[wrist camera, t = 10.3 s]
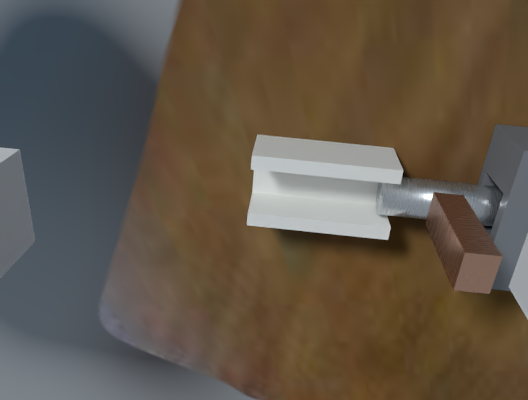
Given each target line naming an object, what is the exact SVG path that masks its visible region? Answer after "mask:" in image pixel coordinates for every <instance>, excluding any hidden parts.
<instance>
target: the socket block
mask: <svg viewBox="0 0 528 400" xmlns="http://www.w3.org/2000/svg"><path fill="white" fill-rule="evenodd" d="M478 184H480V185H490V186H498V187H499V189H500V190H501V191H502V192H503V197H502V200H501V203H500V206H499V209H498V212H497V215H496V218H495V221H494V224H493V226H485V225H483V226H484V228H485V230H486V231H487V233H488V234H489V236H490V237H491V239H492V241H493V242H494V244H495V245H496V247H497V248H498V250H499V251H500V253H501V255H502V256H503V257H502V260H501V263H500V266H499V269H498V271H497V274H496V277H495V280H494V283H493V286H492V289H495V290H505V291H511V290H510V288H509V284H510V282H511V279H512V276H513V273H514V270H515V267H516V265H517V262H518V259H519V256H520V253H521V250H522V248H523V245H524V242H525V239H526V236H527V233H528V127H519V126H509V125H499V124H496V125H495V129H494V132H493V135H492V139H491V142H490V145H489V149H488V152H487V155H486V159H485V162H484V165H483V169H482V172H481V175H480V179H479V182H478Z"/></svg>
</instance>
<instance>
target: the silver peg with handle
mask: <svg viewBox="0 0 528 400" xmlns="http://www.w3.org/2000/svg"><path fill="white" fill-rule="evenodd" d="M502 197H503V192H502V191H501V190H500V189H499V187H498V186H490V185H480V184H470V183H460V182H450V181H440V180H430V179H420V178H410V177H402V180H401V184H391V183H381V182H378V186H377V193H376V212H377V214H379V215H388V216H398V217H408V218H417V219H426V223H425V225H426V227H427V230H428V232H429V234H430V237H431V239H432V241H433V244H434V246H435V248H436V251H437V253H438V255H439V257H440V260H441V262H442V264H443V267H444V269H445V271H446V274H447V276H448V278H449V281H450V283H451V285H452V288H453V290H457V291H466V292H476V293H485V294H490V291H491V289H492V286H493V283H494V280H495V277H496V274H497V271H498V269H499V266H500V263H501V260H502V257H503V256H502V255H501V253H500V251H499V250H498V248H497V247H496V245H495V244H494V242H493V241H492V239H491V237H490V236H489V234H488V233H487V231H486V230H485V228H484V226H483V225H485V226H493V224H494V221H495V218H496V215H497V212H498V209H499V206H500V203H501V200H502Z"/></svg>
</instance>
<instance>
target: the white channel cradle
mask: <svg viewBox="0 0 528 400" xmlns="http://www.w3.org/2000/svg"><path fill="white" fill-rule="evenodd" d="M251 169H253V170H254V178H253V191H252V196H251V201H250V205H249V210H248V218H247V225H250V226H259V227H269V228H278V229H288V230H297V231H307V232H316V233H326V234H335V235H345V236H354V237H364V238H374V239H383V240H388V238H389V234H390V229H391V227H390V223H389V220H388V217H387V215H379V214H377V212H376V193H377V186H378V182H381V183H391V184H401V180H402V175H403V168H402V166H401V164H400V161H399V159H398V157H397V155H396V152H395V150H394V148H388V147H378V146H368V145H358V144H347V143H337V142H327V141H317V140H307V139H297V138H287V137H277V136H267V135H257V138H256V142H255V146H254V149H253V153H252V161H251Z"/></svg>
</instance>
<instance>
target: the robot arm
mask: <svg viewBox="0 0 528 400" xmlns="http://www.w3.org/2000/svg"><path fill="white" fill-rule="evenodd" d="M34 242H35V236H34V230H33V224H32V219H31V213H30V207H29V201H28V195H27V190H26V184H25V178H24V172H23V166H22V161H21V155H20V150H19V149H9V148H0V278H1V277H2V276H3V275H4V274H5V273H6V272H7V271H8V270H9V269H10V268H11V267H12V265H13V264H14V263H15V262H16V261H17V260H18V259H19V258H20V257H21V256H22V255H23V254H24V253H25V251H26V250H27V249H28V248H29V247H30V246H31V245H32V244H33V243H34ZM509 288H510V290H511V292H512V294H513V295H514V297H515V299H516V300H517V302H518V304H519V305H520V307H521V309H522V311H523V312H524V314H525V316H526V317H527V319H528V233H527V236H526V239H525V242H524V245H523V248H522V250H521V253H520V256H519V259H518V262H517V265H516V267H515V270H514V273H513V276H512V279H511V282H510V284H509Z"/></svg>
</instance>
